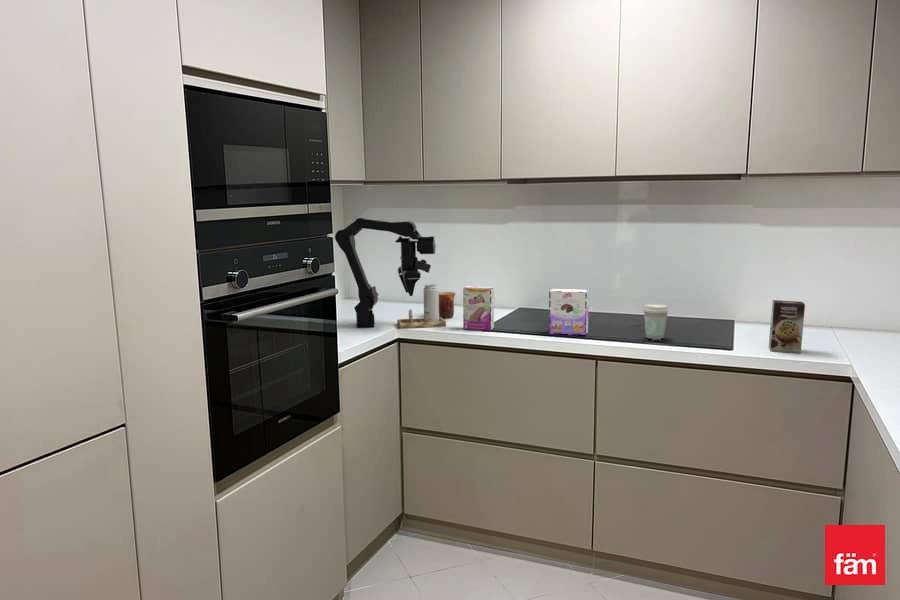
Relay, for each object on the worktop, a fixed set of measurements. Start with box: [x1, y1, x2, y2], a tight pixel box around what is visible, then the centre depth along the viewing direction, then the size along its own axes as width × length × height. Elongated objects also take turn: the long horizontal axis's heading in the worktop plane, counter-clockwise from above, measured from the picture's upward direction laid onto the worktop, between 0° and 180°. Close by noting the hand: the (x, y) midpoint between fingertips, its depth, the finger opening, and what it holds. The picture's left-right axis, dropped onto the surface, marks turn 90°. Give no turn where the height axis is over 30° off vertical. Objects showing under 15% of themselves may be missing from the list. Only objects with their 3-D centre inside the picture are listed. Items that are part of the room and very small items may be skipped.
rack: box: [396, 317, 447, 330], centre depth 262 cm, size 18×9×2 cm, turn 102°
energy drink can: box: [423, 283, 440, 322], centre depth 261 cm, size 6×6×15 cm
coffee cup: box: [642, 303, 669, 339], centre depth 233 cm, size 8×8×12 cm
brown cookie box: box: [768, 299, 806, 354], centre depth 215 cm, size 9×6×16 cm
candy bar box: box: [462, 285, 495, 332], centre depth 252 cm, size 11×5×16 cm, turn 72°
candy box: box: [548, 288, 590, 336], centre depth 243 cm, size 14×6×16 cm, turn 70°
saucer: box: [408, 308, 414, 323], centre depth 260 cm, size 1×6×6 cm, turn 12°
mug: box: [439, 291, 456, 320], centre depth 276 cm, size 12×9×10 cm
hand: (409, 294), depth 257 cm, fingers open, 9 cm apart
